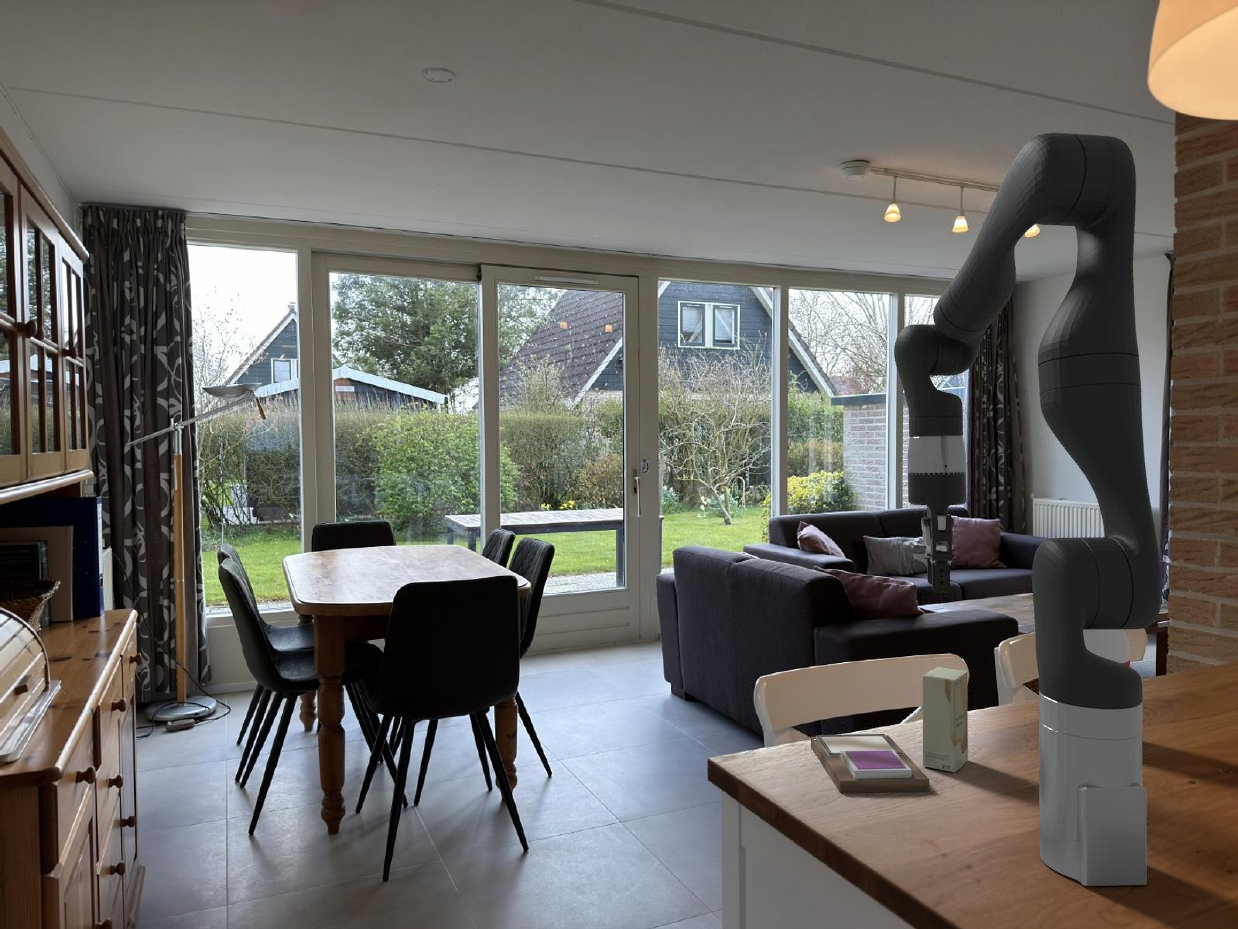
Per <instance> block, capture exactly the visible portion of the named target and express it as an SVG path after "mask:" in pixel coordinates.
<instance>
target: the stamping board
mask: <svg viewBox="0 0 1238 929" xmlns="http://www.w3.org/2000/svg"><path fill="white" fill-rule="evenodd" d="M814 739H816V740H814ZM810 748H811V750H812V751H813V753H814V754H815V756H816V757H817V759H818V761H819V762H820V764H821V765H822V767H823V768H824V770H825V772H826V773H827V775H828V776H829V778H830V779H831V780H832V782H833V784H834V785H835V787H836V788H837V790H838V792H839V793H841V794H842V793H843V794H845V793H846V794H847V793H849V794H850V793H853V794H854V793H898V792H900V793H901V792H903V793H904V792H906V793H907V792H930V778H929V777H928V776H927V775H926V774H925V772H923V771H922V770H921V769H920V767H919V766H918V765H917V764H916V763H915V762H914V761H913V760H912V759H911V758H910V756H908V754H906V753H905V751H904V750H903V749H902V748H901V747H900V746H899V745H898V744H897V742H895V741H894V740H893V739H892V737H891V736H890V735H887V734H885V733H858V734H857V733H856V734H854V733H853V734H852V733H851V734H849V733H848V734H815V736H810Z"/></svg>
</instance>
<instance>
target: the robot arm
mask: <svg viewBox="0 0 1238 929" xmlns="http://www.w3.org/2000/svg"><path fill="white" fill-rule="evenodd" d="M1134 160H1135V158H1134V156H1133V152H1132V150H1131V149H1130V147H1129V145H1128V144H1127V143H1126V141H1124V140H1122V139H1121V138H1118V137H1114V136H1109V135H1098V134H1097V135H1096V134H1084V133H1070V132H1069V133H1067V132H1066V133H1064V132H1047V133H1041V134H1039V135H1036V136H1034V137H1032V138H1031V139H1029V141H1028V142H1026V144H1024V145H1023V147H1022V148H1021V149H1020V150H1019V152H1018V153H1017V155H1016V156H1015V158H1014V159H1013V161H1012V163H1011V164H1010V166H1009V169H1008V170H1007V172H1006V174H1005V176H1004V178H1003V180H1002V182H1001V184H1000V186H999V188H998V191H997V193H996V195H995V197H994V199H993V202H992V204H991V206H990V208H989V210H988V212H987V215H986V216H985V218H984V221H983V223H982V225H981V228H980V230H979V232H978V235H977V237H976V239H975V241H974V243H973V246H972V249H971V250H970V253H969V254H968V256H967V258H966V259H965V261H964V262H963V265H962V266H961V268H960V269H959V270H958V272H957V274H956V275H955V277H954V278H953V279H952V280H951V282H950V283H949V285H948V286H947V287H946V289H945V290H944V291H943V293H942V294H941V296H940V297H939V299H938V300H937V302H936V303H935V306H934V308H933V313H932V320H933V322H934V323H933V324H932V323H931V324H927V323H926V324H922V323H919V324H917V323H916V324H910V325H907V326H905V327H904V328H902V329H901V331H900V332H899V333H898V335H897V337H896V338H895V342H894V346H893V358H894V361H895V362H894V363H895V366H896V370H897V373H898V376H899V378H900V382H901V385H902V390H903V393H904V396H905V400H906V404H907V408H908V446H907V455H906V456H907V500H908V503H909V504H910V505H912V506H926V509H924V512H923V517H921V521H920V522H921V524H920V526H921V530H922V544H923V549H924V555H925V557H927V558H926V561H927V562H926V566H927V569H926V571H927V572H926V575H927V583H928V584H929V585H931V589H932V591H933V592H934V593H937V594H948V593H950V592H951V564H952V562H953V559H954V554H953V550H954V545H955V541H954V532H955V531H954V530H955V520H954V518H953V517H952V514H949V510H948V508H949V507H950V506H961V505H964V504H966V502H967V468H966V467H967V466H966V465H967V460H966V459H967V457H966V453H967V452H966V446H965V441H964V410H963V409H964V408H963V407H964V406H963V401H962V398H961V397H960V396H958V395H957V394H955V393H951V392H947V391H942V390H939V388H937V387H936V386H935V384H934V382H933V380H932V378H931V377H952V376H958V375H961V374H963V373H964V372H966V371H967V370H968V369H970V368H971V367H972V366H973V365H974V363H975V360H977V359H976V358H977V355H978V351H979V348H980V346H981V343H982V341H983V339H984V335H985V332H986V330H987V328H988V327H990V325H991V324H992V323H993V321H994V320H995V319H996V318H997V317H998V315H1000V313H1001V312H1002V310H1003V309H1004V308H1005V307H1006V305H1007V304H1008V302H1009V301H1010V299H1011V297H1012V295H1013V293H1014V290H1015V287H1016V283H1017V282H1016V280H1017V268H1016V257H1015V255H1016V254H1015V248H1016V245H1017V243H1018V242H1019V241H1020V239H1021V238H1022V237H1023V236H1024V235H1025V234H1026V233H1027V232H1028V231H1029V230H1031V228H1033V227H1034V226H1036V225H1041V226H1061V227H1063V226H1064V227H1074V228H1075V232H1076V241H1077V252H1076V253H1077V256H1076V269H1075V273H1074V276H1073V280H1072V283H1071V285H1070V287H1069V289H1068V291H1067V293H1066V295H1065V297H1064V298H1063V300H1062V302H1061V303H1060V305H1059V306H1058V308H1057V310H1056V312H1055V314H1054V315H1053V317H1052V318H1051V320H1050V322H1049V324H1048V325H1047V327H1046V330H1045V332H1044V334H1043V336H1042V337H1041V340H1040V343H1039V346H1038V350H1037V368H1038V369H1037V370H1038V373H1037V374H1038V387H1039V388H1038V389H1039V393H1038V394H1039V405H1040V411H1041V413H1042V416H1043V418H1044V422H1046V424H1047V426H1048V427H1049V429H1050V431H1051V432H1052V434H1053V435H1054V437H1055V438H1056V439H1057V440H1058V442H1059V444H1061V445H1062V447H1063V449H1064V450H1065V452H1066V453H1068V455H1069V456H1070V458H1071V459H1072V460H1073V462H1074V463H1075V464H1076V465H1077V467H1078V468H1079V470H1080V471H1081V472H1082V474H1083V475H1084V477H1085V478H1086V480H1087V481H1088V483H1089V485H1090V487H1091V489H1092V491H1093V492H1094V495H1095V498H1096V500H1097V501H1096V502H1097V504H1098V507H1099V511H1100V515H1101V519H1102V520H1101V521H1102V525H1103V532H1104V536H1101V537H1100V536H1099V537H1098V536H1097V537H1095V536H1094V537H1093V536H1091V537H1090V536H1089V537H1088V536H1086V537H1081V536H1080V537H1076V536H1075V537H1053V538H1047V539H1045V540H1043V541H1042V542H1041V543H1040V544H1039V545H1038V547H1037V549H1036V551H1035V553H1034V557H1033V561H1032V570H1031V571H1032V572H1031V582H1032V583H1031V587H1032V588H1031V589H1032V602H1033V603H1032V604H1033V613H1034V614H1033V615H1034V617H1033V619H1034V634H1035V635H1034V637H1035V639H1034V640H1035V657H1036V664H1037V665H1036V666H1037V673H1038V780H1039V781H1038V789H1039V792H1038V796H1039V797H1038V799H1039V800H1038V801H1039V805H1038V807H1039V808H1038V809H1039V811H1038V812H1039V856H1040V859H1041V860H1042V862H1043V863H1044V864H1045V865H1046V866H1047V867H1048V868H1051V869H1052V870H1054V872H1057V873H1060V875H1063V876H1067V877H1068V878H1071V879H1073V880H1076V881H1078V882H1079V883H1080V884H1081V885H1083V886H1085V887H1096V886H1097V887H1100V886H1101V887H1104V886H1145V885H1147V884H1148V881H1147V880H1148V879H1147V878H1148V876H1147V875H1148V873H1147V872H1148V870H1147V869H1148V867H1147V866H1148V862H1147V861H1148V853H1147V852H1148V849H1147V848H1148V846H1147V845H1148V842H1147V841H1148V840H1147V839H1148V838H1147V833H1148V832H1147V831H1148V829H1147V828H1148V826H1147V824H1148V822H1147V818H1148V817H1147V816H1148V815H1147V812H1148V810H1147V808H1148V806H1147V803H1148V802H1147V800H1148V798H1147V797H1148V796H1147V795H1148V794H1147V793H1148V792H1147V789H1146V788H1145V787H1144V786H1143V680H1142V677H1141V675H1140V673H1139V672H1138V671H1137V670H1135V669H1133V668H1132V667H1131V666H1130V667H1129V666H1126V665H1124V664H1121V663H1119V662H1116V661H1113V660H1110V659H1106V658H1103V657H1100V656H1098V655H1096V654H1094V653H1092V652H1090V651H1089V650H1087V648H1086V646H1085V641H1084V634H1083V630H1114V629H1115V630H1118V629H1125V630H1140V629H1146V628H1149V627H1150V626H1152V625H1153V624H1154V623H1155V622H1156V621H1157V619H1158V617H1159V614H1160V611H1161V607H1162V602H1163V574H1162V573H1163V572H1162V565H1161V559H1160V552H1159V545H1158V539H1157V534H1156V533H1157V532H1156V526H1155V521H1154V516H1153V508H1152V505H1151V497H1150V491H1149V487H1148V478H1147V468H1146V459H1145V447H1144V446H1145V445H1144V444H1145V442H1144V429H1143V428H1144V427H1143V411H1142V408H1143V407H1142V405H1143V404H1142V382H1141V381H1142V380H1141V366H1140V365H1141V364H1140V354H1139V353H1140V352H1139V346H1138V339H1137V338H1138V337H1137V329H1136V328H1137V326H1136V324H1137V323H1136V307H1135V283H1134V282H1135V281H1134V280H1135V279H1134V251H1135V250H1134V249H1135V248H1134V246H1135V231H1136V230H1135V228H1136V227H1135V226H1136V209H1137V208H1136V206H1137V204H1136V203H1137V172H1136V165H1135V161H1134Z"/></svg>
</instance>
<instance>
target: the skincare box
mask: <svg viewBox="0 0 1238 929" xmlns="http://www.w3.org/2000/svg"><path fill="white" fill-rule="evenodd" d="M968 692H969V691H968V671H967V670H963V669H956V668H955V669H954V668H948V667H943V666H936V667H934V668H932V669H931V670H929V671H928V672H926V673H925V674H923V675H922V766H923V767H927V768H930V769H931V768H932V769H935V770H936V769H937V770H941V771H945V772H951V773H956V772H957V771H958V770H960V769H961V768H963V766H964V765H965V764H966V763H967V762H968V760H969V735H968V732H969V726H968V725H969V724H968V723H969V721H968V719H969V718H968V715H969V714H968V713H969V712H968V711H969V710H968V708H969V707H968V702H969V701H968V700H969V698H968V694H969V693H968Z"/></svg>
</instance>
